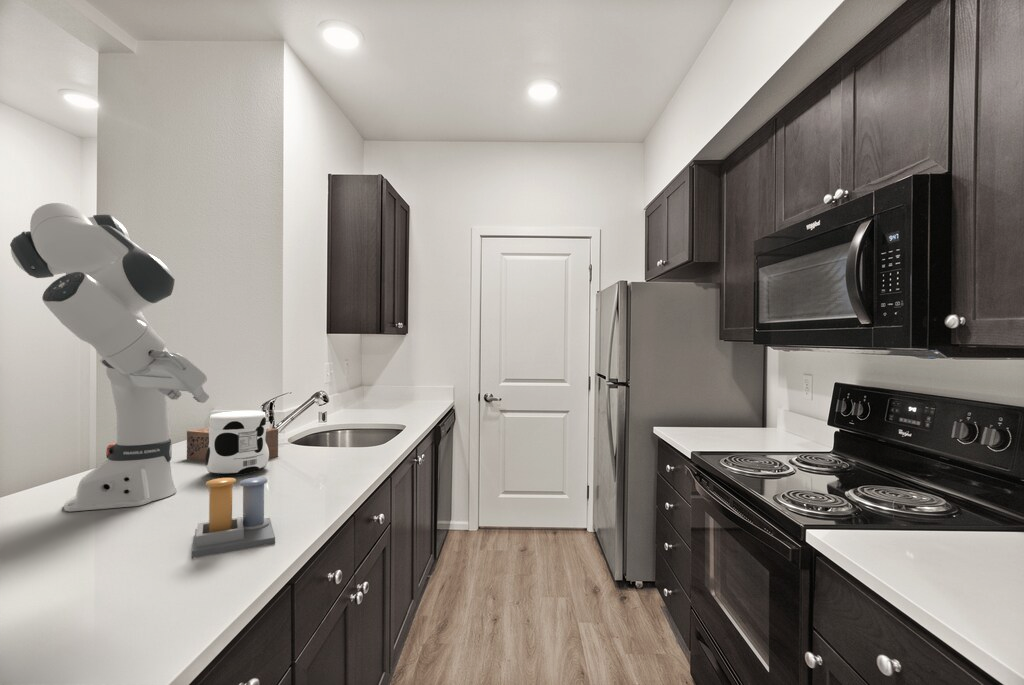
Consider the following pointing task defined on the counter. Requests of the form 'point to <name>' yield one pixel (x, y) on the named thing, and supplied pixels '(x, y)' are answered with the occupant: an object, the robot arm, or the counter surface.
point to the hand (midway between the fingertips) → (190, 398)
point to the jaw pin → (220, 504)
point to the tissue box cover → (200, 443)
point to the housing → (239, 525)
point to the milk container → (237, 443)
